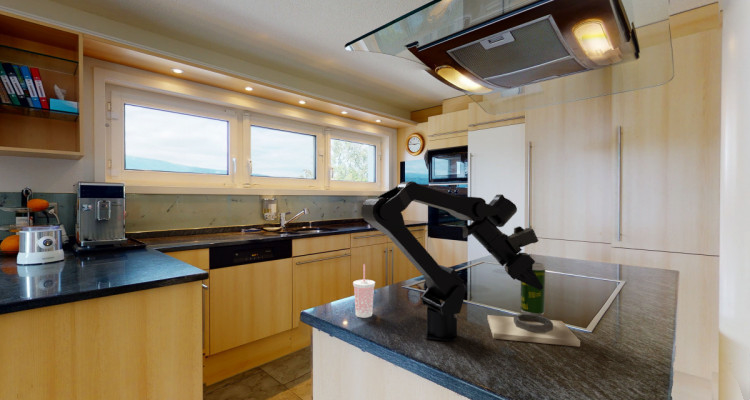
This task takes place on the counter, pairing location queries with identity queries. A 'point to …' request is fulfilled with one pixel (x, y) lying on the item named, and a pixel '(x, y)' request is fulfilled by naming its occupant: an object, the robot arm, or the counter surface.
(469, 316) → the counter surface
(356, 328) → the counter surface
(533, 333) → the board with grey ring
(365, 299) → the beverage cup
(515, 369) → the counter surface
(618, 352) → the counter surface
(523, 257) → the robot arm
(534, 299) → the beer can
